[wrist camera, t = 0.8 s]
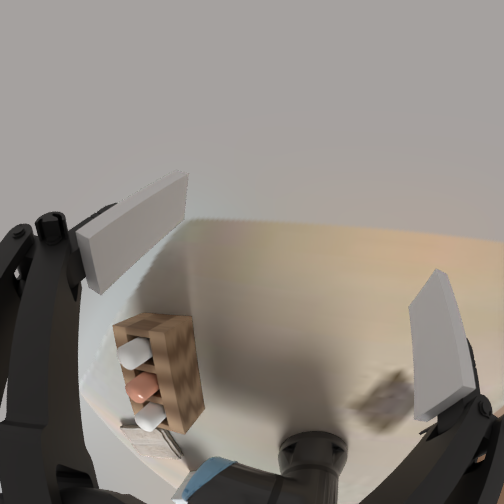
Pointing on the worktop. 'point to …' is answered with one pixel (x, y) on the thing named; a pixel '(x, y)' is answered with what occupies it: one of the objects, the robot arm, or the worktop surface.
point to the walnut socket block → (167, 366)
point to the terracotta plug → (142, 387)
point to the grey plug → (134, 352)
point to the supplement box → (177, 496)
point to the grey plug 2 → (150, 416)
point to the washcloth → (152, 442)
